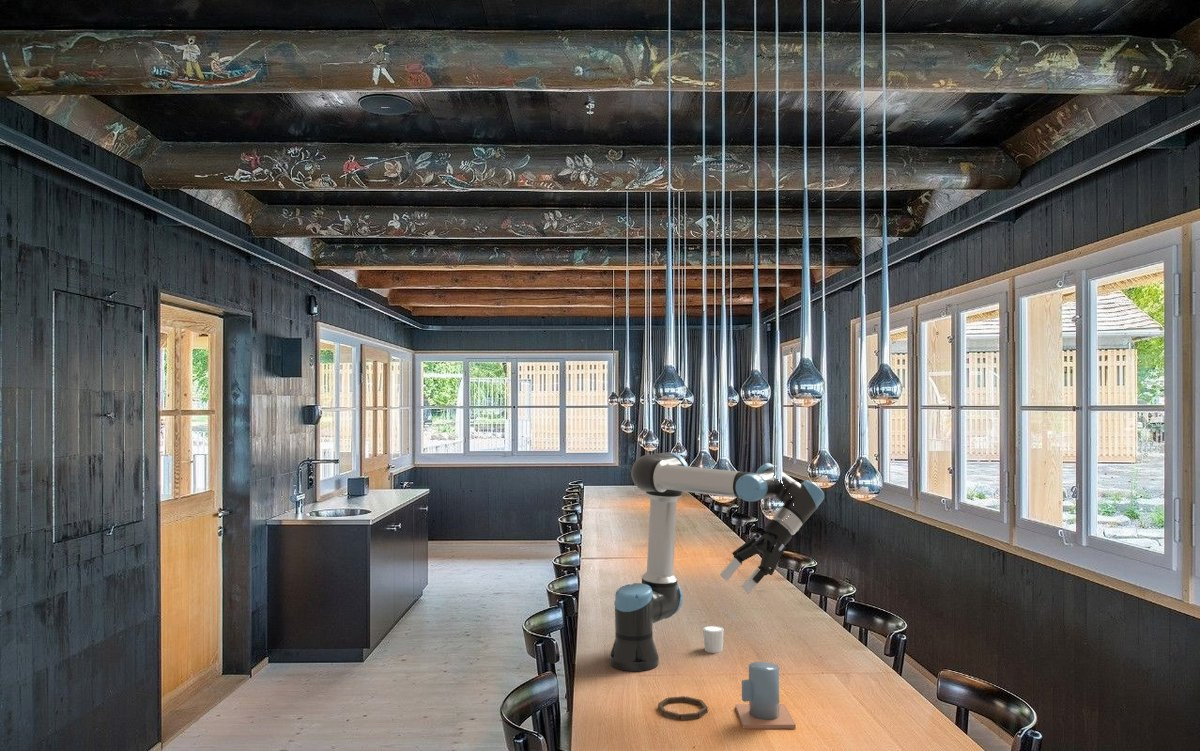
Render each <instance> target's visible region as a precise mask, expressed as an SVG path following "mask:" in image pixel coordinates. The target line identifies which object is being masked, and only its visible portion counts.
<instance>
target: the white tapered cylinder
mask: <svg viewBox="0 0 1200 751" xmlns="http://www.w3.org/2000/svg"><path fill="white" fill-rule="evenodd" d="M724 630H725V629H724V627H722V626H718V625H717V626H716V625H708V626H704V627H702V632H703V642H704V650H705V651H706V652H707V653H713V654H718V653H721V652H723V648H724V647H723V645H724V634H725V631H724ZM705 651H704V652H705Z"/></svg>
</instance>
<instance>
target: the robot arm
mask: <svg viewBox="0 0 1200 751" xmlns="http://www.w3.org/2000/svg"><path fill="white" fill-rule="evenodd" d="M774 466H775V465H773V464H772V463H770V462H765V463H764V464H762V465H761V466H760V467H758V469H757V470H756V471H755V472H749V471H738V470H737V471H736V470H728V469H716V468H709V467H707V468H706V467H697V466H689V464H688V463H687V461H686V460H685V459H684V457H683V456H682V455H680V454H678V453H675V452H660V453H659V452H658V453H653V454H645V455H641V456H640V457H638V458H637V459H636V460H635V462H633V464H632V467H631V473H630V474H631V479H632V482H633V483H634V485H635V486H636V487H637V488H638V489H639V490H642V491H645V495H647V496H648V498H649V500H650V501H649V502H650V503H649V521H648V523H649V524H648V541H647V542H648V543H647V560H646V572H645V573H643V574H642V576H641V583H640V582H639V583H632V584H631V583H629V584H628V583H627V584H625V585H622V586H620V587H619V588H618V589H617V590H616V591H615V594H614V595H615V596H614V614H615V615H614V617H615V618H614V619H615V620H614V622H615V623H614V625H615V626H614V628H615V629H614V630H615V637H614V640H613V641H614V642H613V645H612V648H611V650H610V651H611V652H610V655H609V664H610V666H611V667H613V668H615V669H618V670H621V671H627V672H641V671H642V672H643V671H648V670H652V669H654V668H656V667H658V665H659V654H658V650H657V647H656V645H655V641H654V638H653V637H654V636H653V629H654V628H653V626H654V624H655V623H657V622H659V621H662V620H665V619H669V618H671V617H672V616H674V615H675V614H676V613H678V611H679V610H680V609H681V607H682V605H683V601H684V594H683V590H682V588H681V586H680V584H679V583H678V578H677V577H676V575H675V574H674V563H675V562H674V560H675V544H676V540H675V539H676V526H677V525H676V522H677V503H678V500H679V499H680V498H681V497H682V496H683V492H686V493H693V494H694V493H695V494H703V495H713V496H721V497H727V498H728V497H729V498H738V499H741V500H742V501H745V502H758V501H761V500H764V499H767V498H775V499H776V498H777V499H778V500H777V499H776V500H777V501H779V502H780V501H781V502H780V503H782V501H783V503H784V504H783V503H782V504H783V505H782V506H781V507H780V509H778V511H777V512H776V513H775V514H774V516H772V519H770V520H769V521H768V522H767V523H766V525H765V526H764V527H763V530H764V534H763V535H761V534H760V533H758V532H756V533H755V534H754V535H753V536H752V537H751V538H750V539H749V540H747V541H746V542H745V543H744V544H742V545H741V546H739V547H738V548H737V549H736V550H734V551H733V552H732V553H731V554H732V556H733V559H732V560H731V561H730V562H729V563H728V564H727V565H726V566H725V567H724V568H723V570H722V571H721V572H720V573H719V576H720V577H721V578H722V579H723V580H724V581H725V582H728V581H729V579H730V578H731V577H732V576H733V575H734V574H735V573H736V571H737V570H738V569H739V568H740V567H741V566H742V565H743V562H744V561H746V560H748V559H750V558H751V557H753V556H755V555H758V554H759V555H760V554H762V556H761V560H760V565H759V566H757V568H756V569H755V570H754V571H752V573H751V574H750V576H748V578H747V579H746V580H745V581H744V583H743V584H742V585H741V588H742V589H743V590H744V591H745V592H746V593H747V594H750V593H751V592H753V590H754V588H756V586H757V585H758V583H760V582H761V580H762V579H763V578H764V577H765V576H767V575H769V576H772V575H774V573H775V570H776V567H777V566H778V563H779V561H780V559H781V557H782V555H783V553H784V552H785V550H786V549H787V547H786V545H787V544H789V542H790V541H791V539H792V538H793V536H794V535H795V534H796V533H797V532H799V531H800V528H802V526H803V525H804V524H805V522H807V521H808V519H809V518H810V517H811V516H812V515H813V513H815V511H816V510H818V508H819V506H820V505H821V503H823V500H825V492H824V491H823V490H822V489H821V487H819V485H817V484H816V483H815V482H813V481H811V480H808V479H807V480H804V481H803V482H801V483H800V482H798V481H797V480H795V479H794V478H792V477H791V476H789V475H788V474H787V473H786V472H784V471H782V481H783V484H782V483H781V480H780V483H779V481H778V479H776V475H775V476H774V481H773V475H774ZM783 485H784V486H783ZM785 488H786V489H785ZM789 493H790V494H789ZM791 496H792V498H791ZM793 503H794V506H793ZM791 511H792V512H791ZM790 513H791V515H790ZM788 516H789V517H788ZM786 518H787V519H786ZM784 519H786V520H784ZM782 520H783V521H782Z"/></svg>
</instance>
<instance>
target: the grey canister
mask: <svg viewBox="0 0 1200 751" xmlns="http://www.w3.org/2000/svg"><path fill="white" fill-rule="evenodd" d="M741 700H742V701H743V702H744V703H745V702H749V703H748V704H749V713H750V715H751V716H752V717H754V718H757V719H762V720H773V719H776V718H778V717H779V716H780V709H779V704H780V667H779V665H778V664H776V663H773V662H768V661H755V662H751V663H749V665H748V679H742V680H741Z"/></svg>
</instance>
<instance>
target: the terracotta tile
mask: <svg viewBox="0 0 1200 751" xmlns="http://www.w3.org/2000/svg"><path fill="white" fill-rule="evenodd" d="M734 708H735V710H736V713H737V715H738V718H739V721H740V724H741V726H742V729H749V730H752V729H755V730H756V729H760V730H763V729H765V730H767V729H768V730H770V729H771V730H772V729H774V730H776V729H777V730H779V729H781V730H782V729H783V730H785V729H786V730H787V729H788V730H791V729H794V730H796V729H797V728H796V727H797V726H796V725H797V724H796V723H795V721H794V718H793V717H792V715H791V714H790V711H789V710H788V708H787V706H786V705H785V703H779V709H780V716H779V717H778V718H776V719H773V720H762V719H757V718H754V717H752V716H751V715H750V713H749V703H735V706H734Z"/></svg>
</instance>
